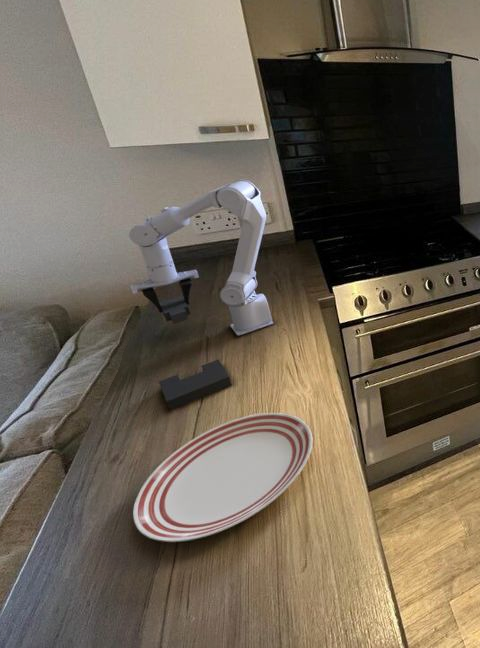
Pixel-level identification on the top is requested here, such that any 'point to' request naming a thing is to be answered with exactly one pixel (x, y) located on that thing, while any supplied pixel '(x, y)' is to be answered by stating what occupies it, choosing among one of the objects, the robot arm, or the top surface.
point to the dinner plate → (222, 477)
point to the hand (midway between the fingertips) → (174, 307)
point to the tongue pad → (175, 309)
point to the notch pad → (195, 385)
